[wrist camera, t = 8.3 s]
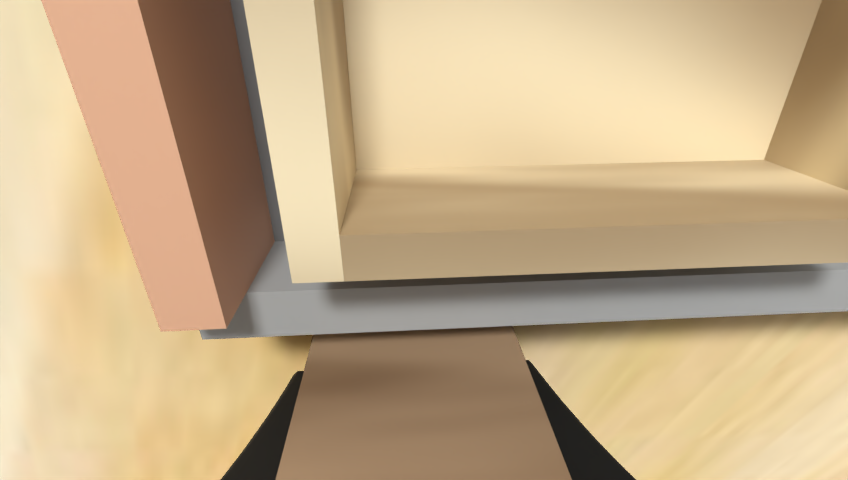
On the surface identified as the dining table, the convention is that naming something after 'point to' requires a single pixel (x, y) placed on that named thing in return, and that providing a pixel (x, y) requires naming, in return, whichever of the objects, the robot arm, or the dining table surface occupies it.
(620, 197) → the crate
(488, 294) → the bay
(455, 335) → the walnut block
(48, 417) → the dining table surface
